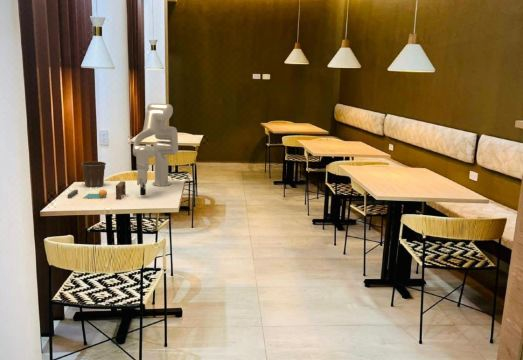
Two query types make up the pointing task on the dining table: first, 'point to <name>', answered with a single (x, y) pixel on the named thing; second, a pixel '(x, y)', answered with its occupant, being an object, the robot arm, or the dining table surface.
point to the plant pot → (93, 173)
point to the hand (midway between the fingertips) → (143, 195)
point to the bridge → (120, 189)
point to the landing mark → (93, 196)
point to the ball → (102, 193)
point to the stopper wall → (73, 193)
